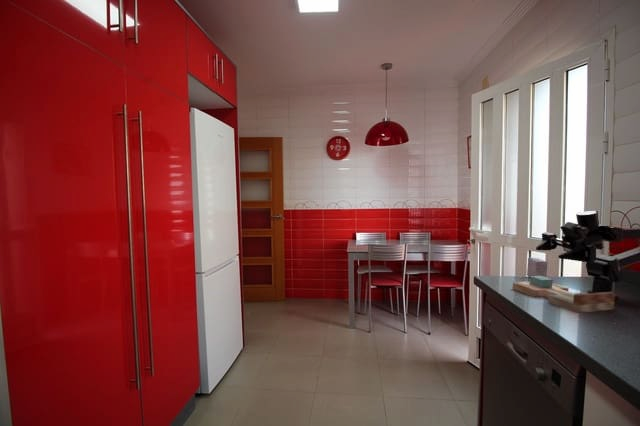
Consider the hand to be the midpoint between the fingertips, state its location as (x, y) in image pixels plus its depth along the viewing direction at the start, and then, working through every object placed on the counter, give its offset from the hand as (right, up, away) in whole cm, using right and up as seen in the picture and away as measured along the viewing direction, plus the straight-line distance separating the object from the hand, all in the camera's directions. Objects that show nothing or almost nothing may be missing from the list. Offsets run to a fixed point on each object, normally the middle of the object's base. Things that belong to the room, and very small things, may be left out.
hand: (547, 252), depth 110 cm
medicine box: (+14, -15, +25) cm, 32 cm away
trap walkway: (+4, -17, -1) cm, 17 cm away
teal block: (+2, -13, +6) cm, 15 cm away
